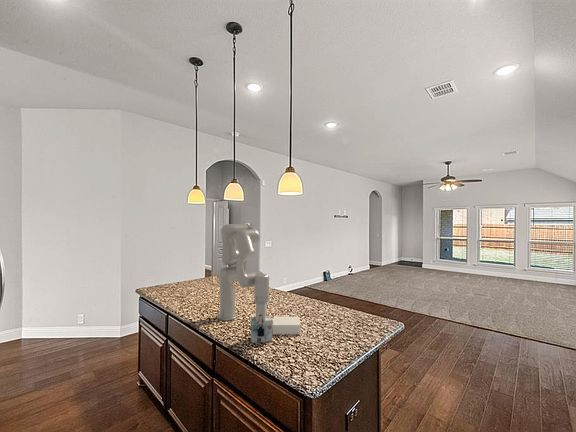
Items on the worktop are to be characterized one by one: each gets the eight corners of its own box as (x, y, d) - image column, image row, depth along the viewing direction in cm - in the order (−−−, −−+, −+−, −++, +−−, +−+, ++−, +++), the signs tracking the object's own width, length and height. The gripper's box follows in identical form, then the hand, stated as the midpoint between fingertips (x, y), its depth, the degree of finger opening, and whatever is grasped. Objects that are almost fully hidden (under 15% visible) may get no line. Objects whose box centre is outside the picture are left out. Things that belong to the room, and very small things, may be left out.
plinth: (273, 325, 163) (273, 316, 163) (299, 325, 164) (299, 316, 164) (272, 334, 150) (272, 325, 150) (300, 334, 151) (300, 325, 151)
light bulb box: (251, 343, 139) (252, 321, 139) (250, 337, 146) (250, 317, 146) (272, 341, 142) (273, 319, 142) (270, 335, 148) (270, 315, 149)
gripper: (256, 294, 153) (255, 326, 152) (252, 303, 135) (252, 340, 135) (269, 294, 153) (269, 326, 153) (268, 303, 135) (267, 340, 135)
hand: (261, 332), depth 144 cm, fingers closed on light bulb box, 7 cm apart
